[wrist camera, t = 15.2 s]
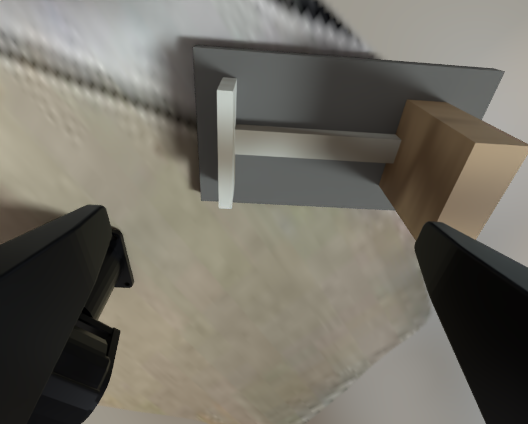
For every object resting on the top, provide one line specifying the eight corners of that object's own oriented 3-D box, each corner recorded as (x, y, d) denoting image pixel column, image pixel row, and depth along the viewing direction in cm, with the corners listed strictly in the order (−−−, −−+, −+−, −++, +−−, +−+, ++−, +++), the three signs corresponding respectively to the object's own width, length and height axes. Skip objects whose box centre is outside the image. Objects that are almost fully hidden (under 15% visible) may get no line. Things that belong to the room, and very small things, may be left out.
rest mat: (430, 205, 24) (436, 212, 23) (203, 193, 23) (201, 200, 22) (493, 68, 18) (504, 71, 18) (195, 45, 17) (192, 46, 17)
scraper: (410, 193, 22) (463, 259, 16) (223, 183, 21) (210, 249, 16) (450, 93, 18) (539, 135, 12) (222, 77, 17) (205, 113, 12)
